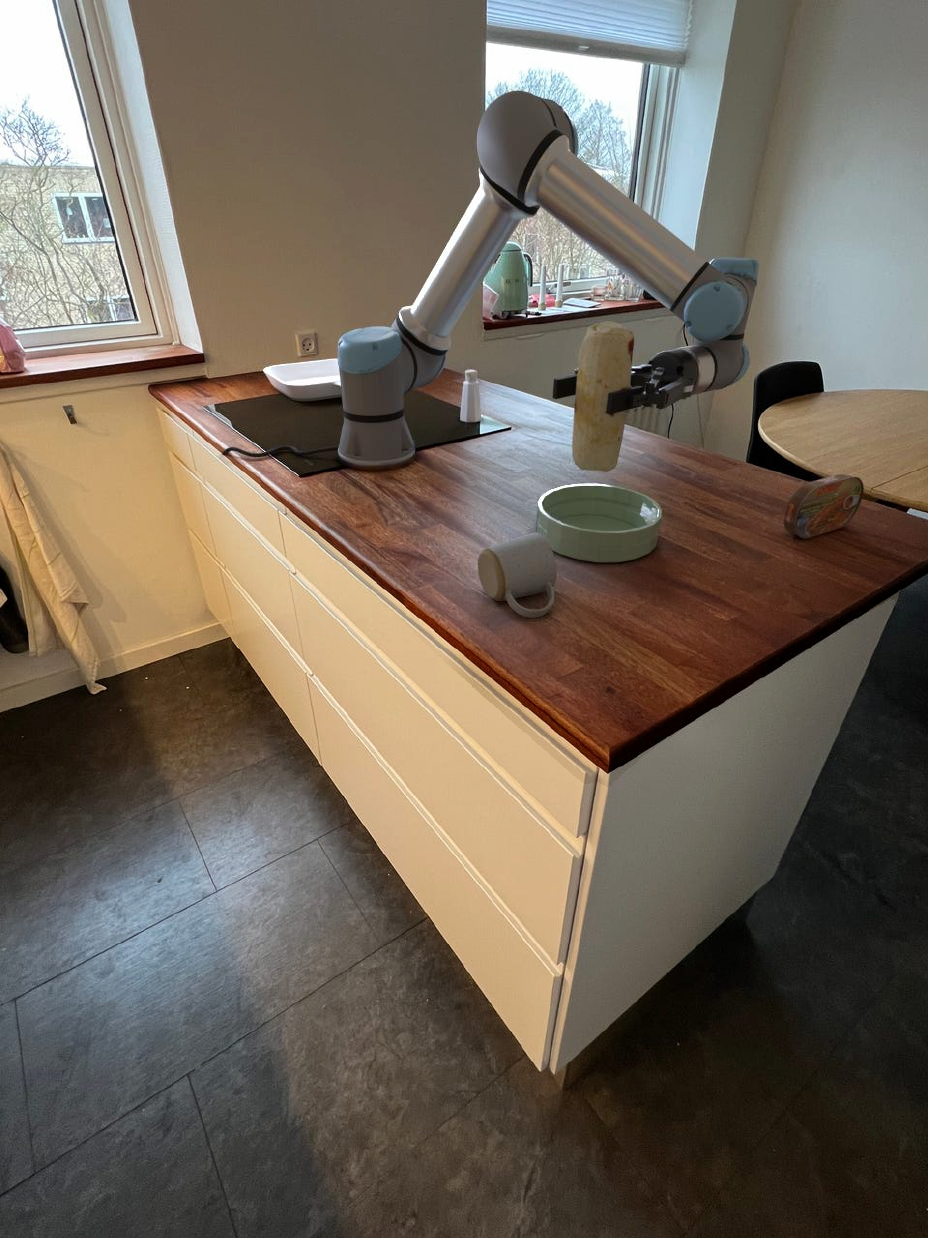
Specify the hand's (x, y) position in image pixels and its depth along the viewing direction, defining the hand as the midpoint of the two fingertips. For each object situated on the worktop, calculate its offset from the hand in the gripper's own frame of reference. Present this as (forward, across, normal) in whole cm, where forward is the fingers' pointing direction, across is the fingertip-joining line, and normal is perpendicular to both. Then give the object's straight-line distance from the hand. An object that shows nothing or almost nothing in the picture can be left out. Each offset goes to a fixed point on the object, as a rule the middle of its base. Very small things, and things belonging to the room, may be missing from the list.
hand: (581, 396), depth 88 cm
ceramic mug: (+20, -11, -21) cm, 31 cm away
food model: (-4, 0, -11) cm, 12 cm away
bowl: (-2, -4, -20) cm, 21 cm away
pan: (-13, +98, -21) cm, 101 cm away
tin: (-30, -24, -20) cm, 44 cm away
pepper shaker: (-27, +57, -21) cm, 66 cm away
